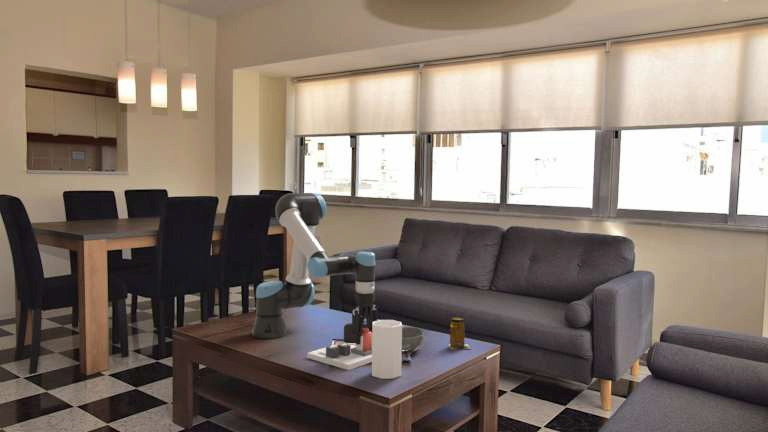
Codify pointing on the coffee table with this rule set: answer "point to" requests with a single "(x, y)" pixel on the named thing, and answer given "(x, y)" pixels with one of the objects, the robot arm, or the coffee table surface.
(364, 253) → the robot arm
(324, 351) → the panel
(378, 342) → the white canister
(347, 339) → the leaning round-cornered charcoal block
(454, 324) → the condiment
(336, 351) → the breaker
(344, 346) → the breaker
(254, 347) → the coffee table surface
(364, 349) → the cap
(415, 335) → the bowl
